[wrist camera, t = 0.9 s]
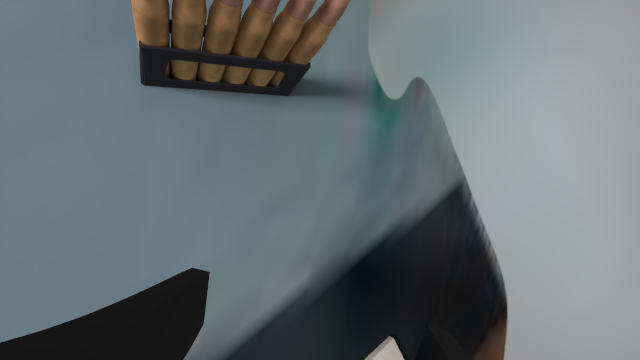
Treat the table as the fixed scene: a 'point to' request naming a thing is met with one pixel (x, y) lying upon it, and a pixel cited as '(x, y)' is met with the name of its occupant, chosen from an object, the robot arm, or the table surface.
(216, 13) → the ammunition clip
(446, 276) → the table surface
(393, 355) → the mat
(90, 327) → the robot arm
